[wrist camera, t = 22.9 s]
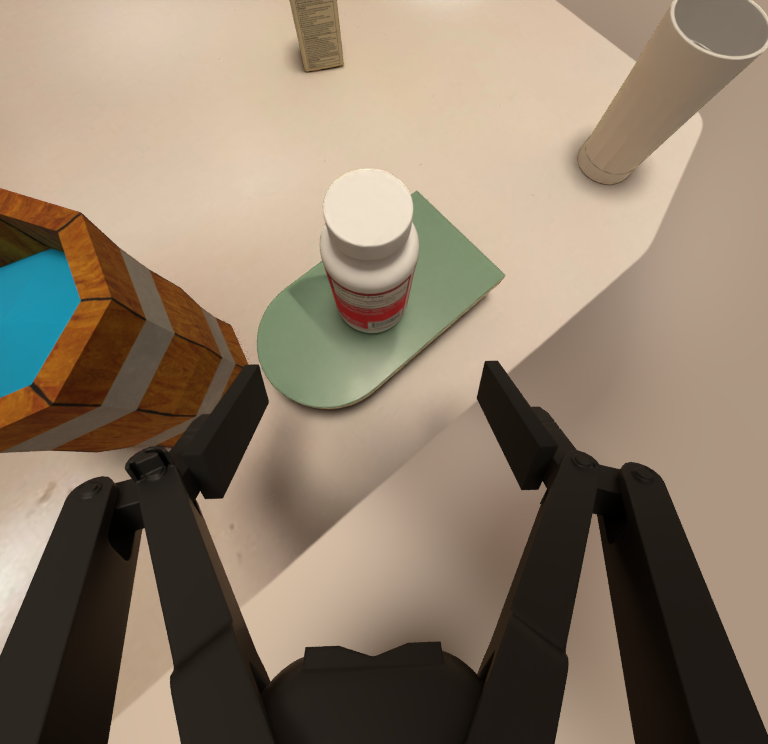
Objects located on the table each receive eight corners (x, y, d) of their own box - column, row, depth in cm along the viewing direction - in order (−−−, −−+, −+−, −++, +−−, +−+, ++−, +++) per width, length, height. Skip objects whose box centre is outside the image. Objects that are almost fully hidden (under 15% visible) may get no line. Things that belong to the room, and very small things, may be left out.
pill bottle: (359, 259, 26) (347, 137, 16) (418, 289, 26) (448, 186, 15) (323, 314, 25) (283, 224, 14) (385, 348, 25) (392, 280, 14)
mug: (279, 367, 28) (174, 294, 14) (172, 480, 26) (-97, 540, 11) (144, 250, 31) (-70, 79, 16) (35, 343, 28) (-336, 244, 14)
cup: (574, 128, 35) (672, -24, 24) (639, 142, 35) (770, -4, 23) (567, 181, 34) (669, 46, 22) (636, 196, 33) (776, 68, 22)
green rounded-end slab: (411, 219, 32) (416, 190, 28) (489, 295, 30) (506, 275, 26) (248, 344, 29) (228, 330, 25) (325, 438, 27) (316, 439, 23)
